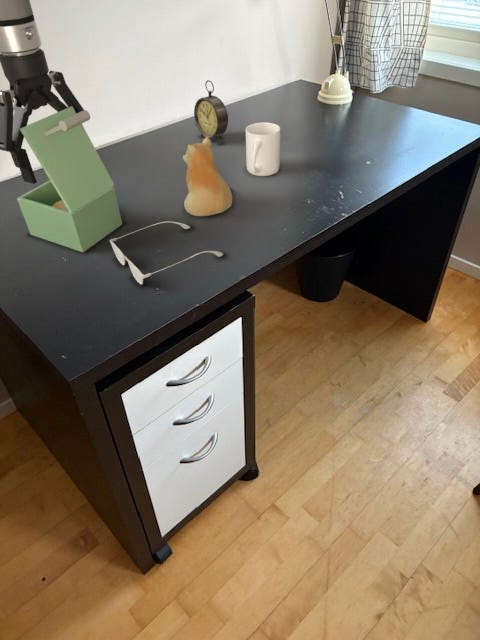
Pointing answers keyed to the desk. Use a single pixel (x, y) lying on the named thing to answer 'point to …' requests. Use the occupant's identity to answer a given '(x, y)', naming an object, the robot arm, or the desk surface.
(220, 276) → the desk surface
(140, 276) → the eyeglasses
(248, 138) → the mug
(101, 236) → the green rectangular box
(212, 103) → the alarm clock
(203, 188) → the figurine
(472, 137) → the desk surface
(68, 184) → the green box lid
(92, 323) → the desk surface
